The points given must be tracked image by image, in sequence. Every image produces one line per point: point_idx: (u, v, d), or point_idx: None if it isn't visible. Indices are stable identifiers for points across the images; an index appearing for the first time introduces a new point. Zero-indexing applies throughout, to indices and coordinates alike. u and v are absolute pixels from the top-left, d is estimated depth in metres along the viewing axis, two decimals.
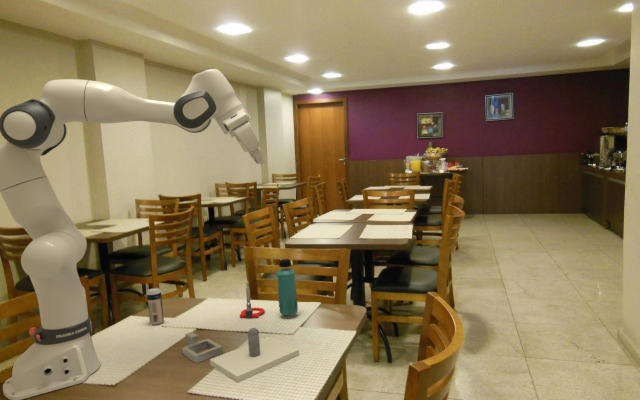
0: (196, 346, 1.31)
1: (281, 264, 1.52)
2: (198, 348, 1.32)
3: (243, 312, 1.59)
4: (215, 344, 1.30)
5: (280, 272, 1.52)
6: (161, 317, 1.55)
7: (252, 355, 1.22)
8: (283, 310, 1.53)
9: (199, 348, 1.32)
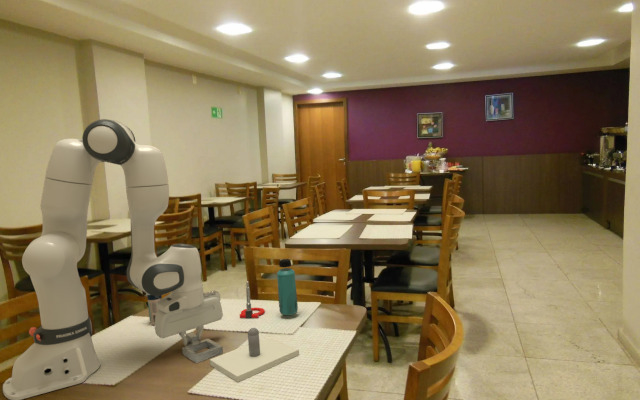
0: (196, 346, 1.31)
1: (281, 264, 1.52)
2: (198, 348, 1.32)
3: (243, 312, 1.59)
4: (215, 344, 1.30)
5: (280, 272, 1.52)
6: None
7: (252, 355, 1.22)
8: (283, 310, 1.53)
9: (199, 348, 1.32)
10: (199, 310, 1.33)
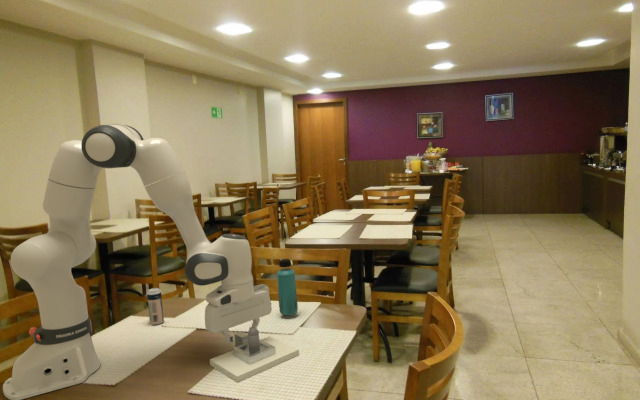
0: (247, 346, 1.25)
1: (281, 264, 1.52)
2: (248, 349, 1.26)
3: None
4: (267, 344, 1.25)
5: (280, 272, 1.52)
6: (161, 317, 1.55)
7: None
8: (283, 310, 1.53)
9: None
10: (249, 304, 1.27)
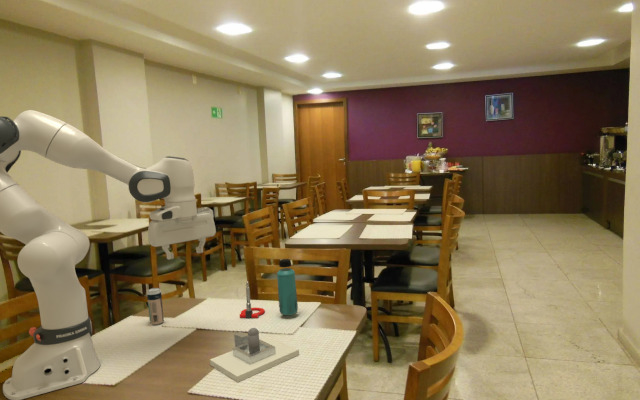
0: (247, 346, 1.25)
1: (281, 264, 1.52)
2: (248, 349, 1.26)
3: (243, 312, 1.59)
4: (267, 344, 1.25)
5: (280, 272, 1.52)
6: (161, 317, 1.55)
7: None
8: (283, 310, 1.53)
9: None
10: (192, 223, 1.35)
